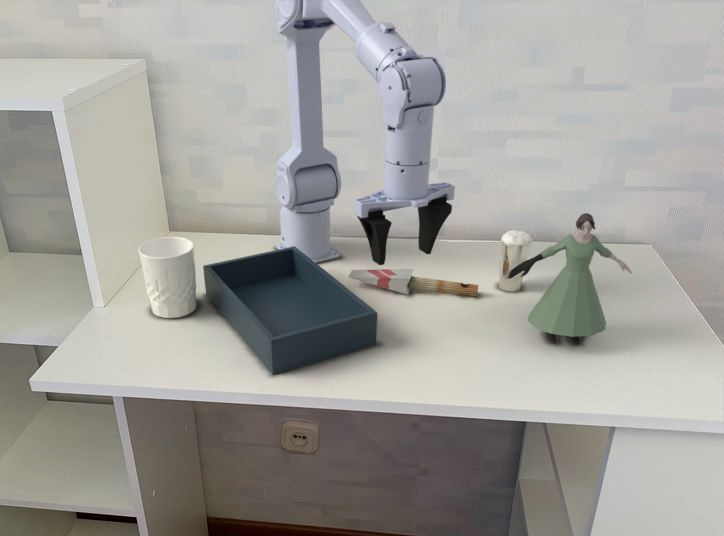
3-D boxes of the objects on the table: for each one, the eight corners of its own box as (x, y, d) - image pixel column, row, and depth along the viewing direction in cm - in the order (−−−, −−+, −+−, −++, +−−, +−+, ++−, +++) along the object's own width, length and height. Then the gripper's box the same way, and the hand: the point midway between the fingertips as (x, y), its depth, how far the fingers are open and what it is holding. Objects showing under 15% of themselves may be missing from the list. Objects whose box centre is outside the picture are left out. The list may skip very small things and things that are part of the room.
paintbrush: (353, 260, 113) (479, 277, 109) (352, 275, 115) (476, 293, 110) (347, 270, 110) (478, 288, 106) (346, 286, 112) (475, 304, 107)
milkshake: (518, 298, 108) (527, 236, 103) (489, 286, 111) (496, 227, 106) (535, 289, 110) (545, 228, 105) (506, 278, 114) (514, 219, 109)
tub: (205, 295, 111) (202, 265, 108) (295, 274, 116) (294, 245, 114) (272, 374, 91) (271, 340, 88) (376, 345, 97) (377, 312, 94)
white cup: (137, 309, 107) (127, 248, 102) (178, 291, 112) (171, 232, 107) (169, 326, 102) (160, 262, 97) (211, 306, 107) (204, 245, 102)
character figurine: (500, 351, 95) (519, 224, 85) (494, 321, 102) (510, 201, 92) (624, 356, 93) (656, 228, 84) (608, 326, 100) (637, 204, 91)
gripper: (375, 176, 85) (371, 278, 92) (472, 159, 90) (462, 256, 98) (346, 161, 90) (345, 259, 98) (440, 146, 96) (432, 239, 103)
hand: (401, 256), depth 98 cm, fingers open, 7 cm apart
